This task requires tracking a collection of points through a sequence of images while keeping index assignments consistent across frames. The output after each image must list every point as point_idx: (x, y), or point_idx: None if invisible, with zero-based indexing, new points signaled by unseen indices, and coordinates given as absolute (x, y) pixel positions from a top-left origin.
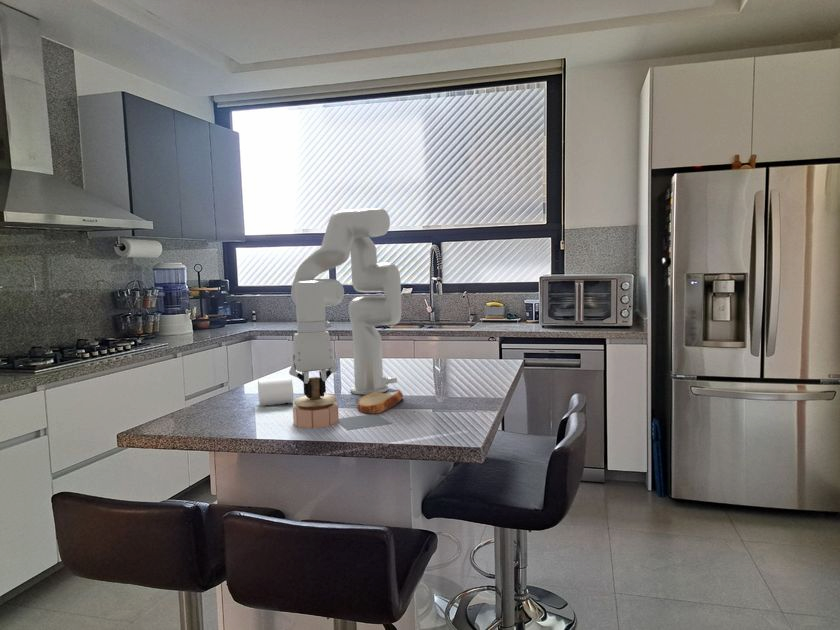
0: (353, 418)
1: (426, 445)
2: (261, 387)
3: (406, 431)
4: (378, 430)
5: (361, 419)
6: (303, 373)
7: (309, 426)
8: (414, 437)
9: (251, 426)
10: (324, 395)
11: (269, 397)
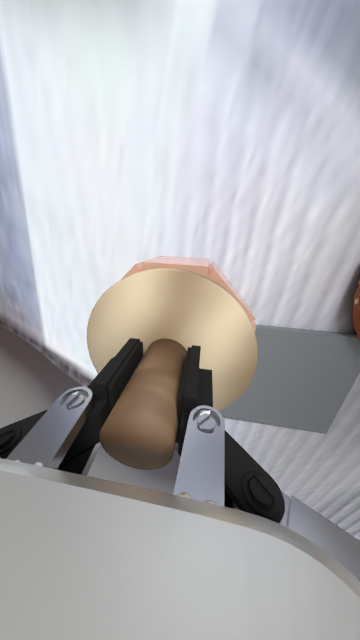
0: (281, 349)
1: None
2: None
3: (313, 465)
4: (275, 434)
5: (292, 369)
6: (32, 458)
7: None
8: (297, 489)
9: (16, 230)
10: (223, 326)
11: None
